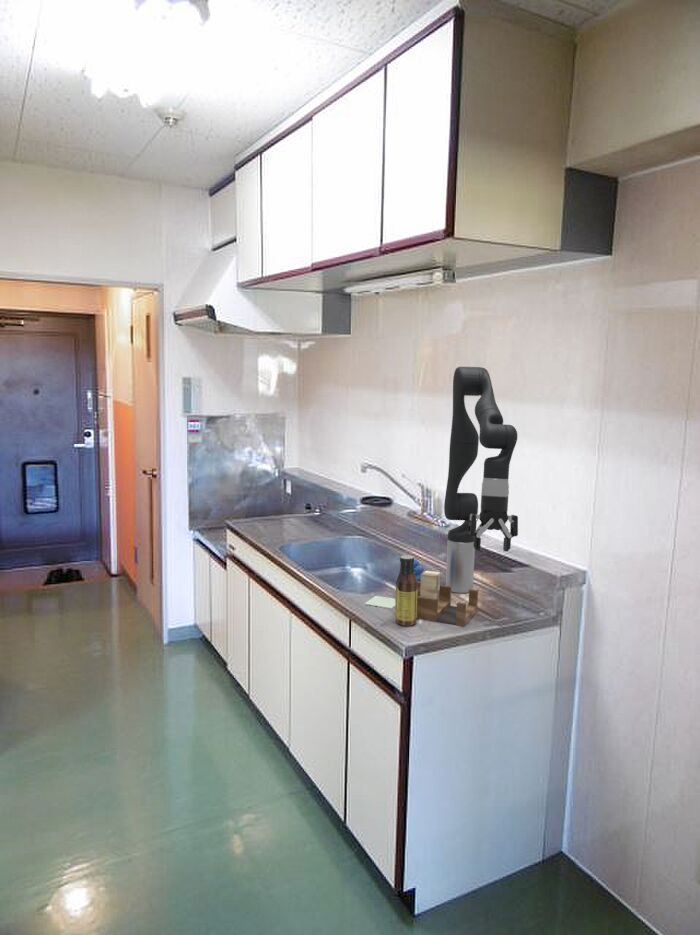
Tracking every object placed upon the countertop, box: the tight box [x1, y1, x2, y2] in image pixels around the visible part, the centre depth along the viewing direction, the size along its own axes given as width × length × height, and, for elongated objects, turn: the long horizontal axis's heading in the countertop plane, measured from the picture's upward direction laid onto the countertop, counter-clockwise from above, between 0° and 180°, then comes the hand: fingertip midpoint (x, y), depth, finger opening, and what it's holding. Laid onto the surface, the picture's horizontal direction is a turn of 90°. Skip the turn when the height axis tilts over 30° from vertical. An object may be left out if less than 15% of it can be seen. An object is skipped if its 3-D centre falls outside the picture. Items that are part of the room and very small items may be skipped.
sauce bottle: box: [394, 554, 417, 627], centre depth 192 cm, size 7×6×20 cm
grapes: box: [413, 559, 424, 582], centre depth 221 cm, size 12×7×12 cm, turn 30°
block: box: [420, 570, 441, 605], centre depth 203 cm, size 5×4×10 cm
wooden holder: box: [416, 582, 479, 627], centre depth 202 cm, size 15×21×6 cm
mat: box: [364, 595, 396, 610], centre depth 211 cm, size 9×9×1 cm
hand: (491, 550), depth 190 cm, fingers open, 8 cm apart
